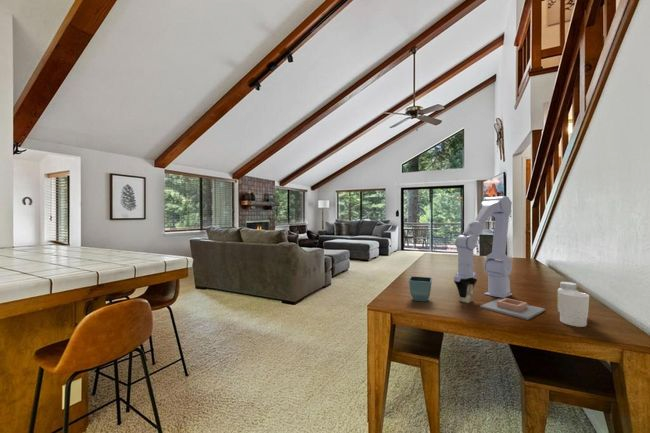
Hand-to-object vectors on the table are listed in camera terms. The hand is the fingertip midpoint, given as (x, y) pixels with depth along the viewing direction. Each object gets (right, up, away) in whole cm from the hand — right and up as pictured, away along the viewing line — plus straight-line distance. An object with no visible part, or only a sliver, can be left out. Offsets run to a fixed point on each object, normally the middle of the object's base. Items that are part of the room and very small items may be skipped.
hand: (465, 296), depth 121 cm
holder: (+13, -2, -11) cm, 17 cm away
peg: (0, -2, 0) cm, 2 cm away
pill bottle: (+31, -2, -15) cm, 34 cm away
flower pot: (-18, -2, +1) cm, 19 cm away
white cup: (+24, -2, -25) cm, 34 cm away
